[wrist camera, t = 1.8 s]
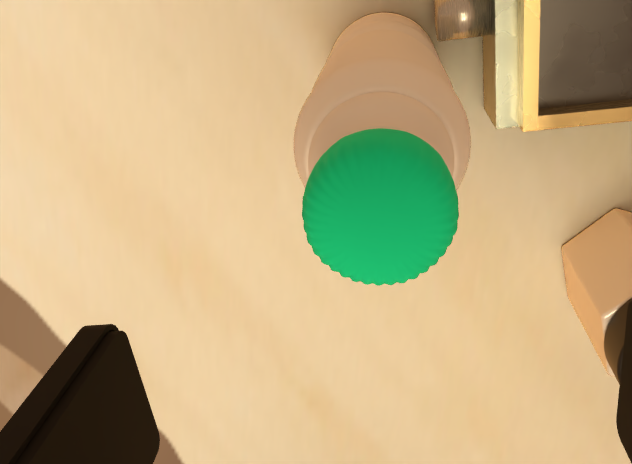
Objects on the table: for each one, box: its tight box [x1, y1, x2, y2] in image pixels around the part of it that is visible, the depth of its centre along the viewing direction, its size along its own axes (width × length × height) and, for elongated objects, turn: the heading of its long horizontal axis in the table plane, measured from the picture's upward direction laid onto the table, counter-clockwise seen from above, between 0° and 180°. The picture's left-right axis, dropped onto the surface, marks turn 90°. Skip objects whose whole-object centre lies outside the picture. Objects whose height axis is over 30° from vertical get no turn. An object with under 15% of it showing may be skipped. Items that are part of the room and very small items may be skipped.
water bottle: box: [294, 12, 471, 285], centre depth 28 cm, size 7×7×25 cm
